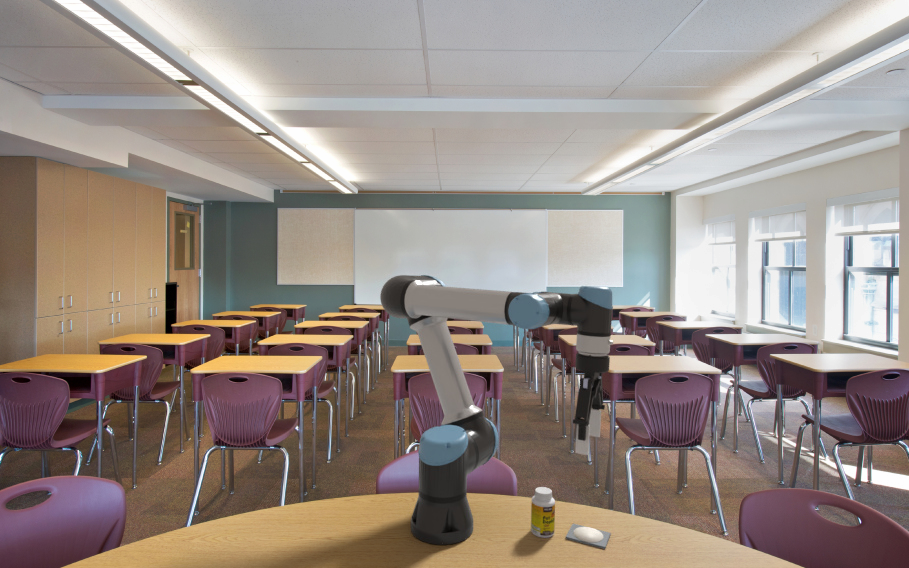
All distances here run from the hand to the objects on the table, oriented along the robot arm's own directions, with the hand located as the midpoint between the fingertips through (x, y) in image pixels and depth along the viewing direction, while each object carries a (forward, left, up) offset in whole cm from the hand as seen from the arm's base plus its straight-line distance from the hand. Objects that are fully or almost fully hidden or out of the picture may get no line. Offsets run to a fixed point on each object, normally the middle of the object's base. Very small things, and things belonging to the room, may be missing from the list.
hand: (588, 444), depth 111 cm
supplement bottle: (-10, -1, -23) cm, 25 cm away
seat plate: (0, +2, -23) cm, 23 cm away
